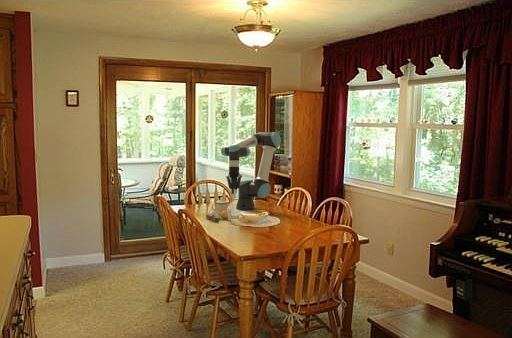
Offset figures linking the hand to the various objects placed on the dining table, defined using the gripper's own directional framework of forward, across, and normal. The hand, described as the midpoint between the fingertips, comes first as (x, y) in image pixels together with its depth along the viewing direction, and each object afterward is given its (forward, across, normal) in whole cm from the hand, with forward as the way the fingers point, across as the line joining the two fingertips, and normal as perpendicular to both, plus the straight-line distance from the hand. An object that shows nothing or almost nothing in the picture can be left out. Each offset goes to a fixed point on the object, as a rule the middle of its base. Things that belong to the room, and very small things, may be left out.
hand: (233, 198), depth 330 cm
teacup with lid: (+15, +2, -17) cm, 23 cm away
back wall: (+14, +18, 0) cm, 23 cm away
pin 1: (+13, +11, 0) cm, 18 cm away
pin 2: (+14, +8, +7) cm, 18 cm away
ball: (+11, +8, 0) cm, 14 cm away
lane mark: (+14, +3, 0) cm, 15 cm away
